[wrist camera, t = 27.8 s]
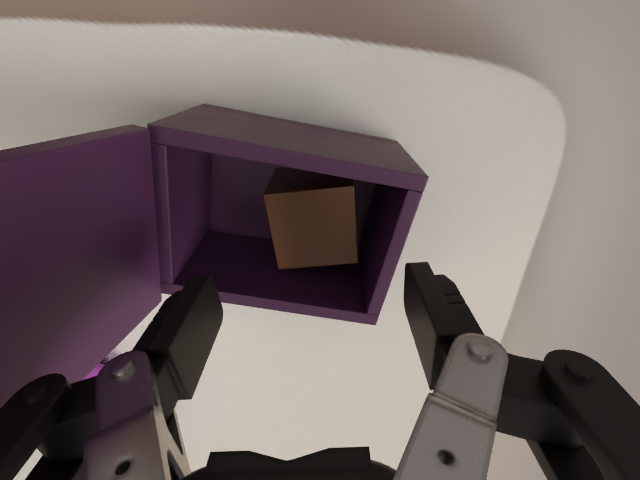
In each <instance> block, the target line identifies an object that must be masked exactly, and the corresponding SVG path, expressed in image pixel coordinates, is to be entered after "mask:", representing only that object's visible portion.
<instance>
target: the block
mask: <svg viewBox="0 0 640 480" xmlns="http://www.w3.org/2000/svg"><path fill="white" fill-rule="evenodd" d="M263 198H264V203H265V207H266V212H267V217H268V222H269V227H270V232H271V237H272V242H273V247H274V252H275V257H276V262H277V266H278V269H291V268H303V267H316V266H328V265H341V264H353V263H358V245H357V227H356V210H355V193H354V184H353V179H349V178H344V177H338V176H333V175H327V174H322V173H317V172H311V171H306V170H300V169H295V168H289V167H282V168H275V170H274V172H273V175H272V177H271V179H270V181H269V183H268V185H267V188H266V190H265V192H264V194H263Z"/></svg>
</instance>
